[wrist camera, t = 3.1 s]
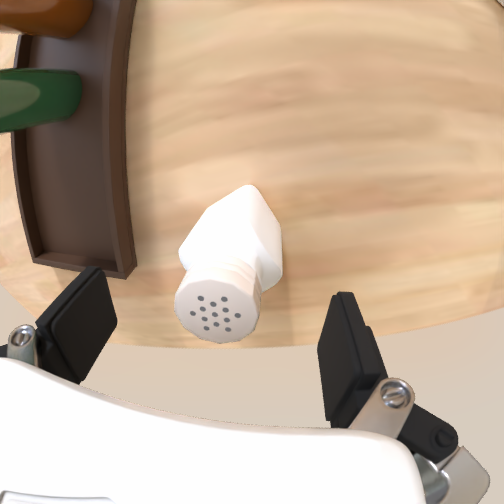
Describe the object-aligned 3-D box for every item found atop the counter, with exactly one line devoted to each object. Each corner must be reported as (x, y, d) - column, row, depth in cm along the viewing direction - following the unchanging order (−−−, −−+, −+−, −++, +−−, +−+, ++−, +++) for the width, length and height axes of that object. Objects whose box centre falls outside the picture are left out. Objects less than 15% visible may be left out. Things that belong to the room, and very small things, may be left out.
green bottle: (47, 76, 13) (-79, 95, 2) (84, 63, 13) (-59, 65, 2) (45, 125, 15) (-80, 168, 4) (82, 117, 15) (-64, 156, 4)
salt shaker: (202, 209, 18) (142, 294, 10) (252, 178, 17) (228, 247, 8) (235, 255, 19) (206, 360, 11) (284, 229, 18) (290, 331, 10)
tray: (41, 3, 9) (27, 0, 7) (146, -41, 9) (134, -51, 7) (45, 252, 21) (33, 262, 19) (137, 265, 21) (125, 279, 19)
